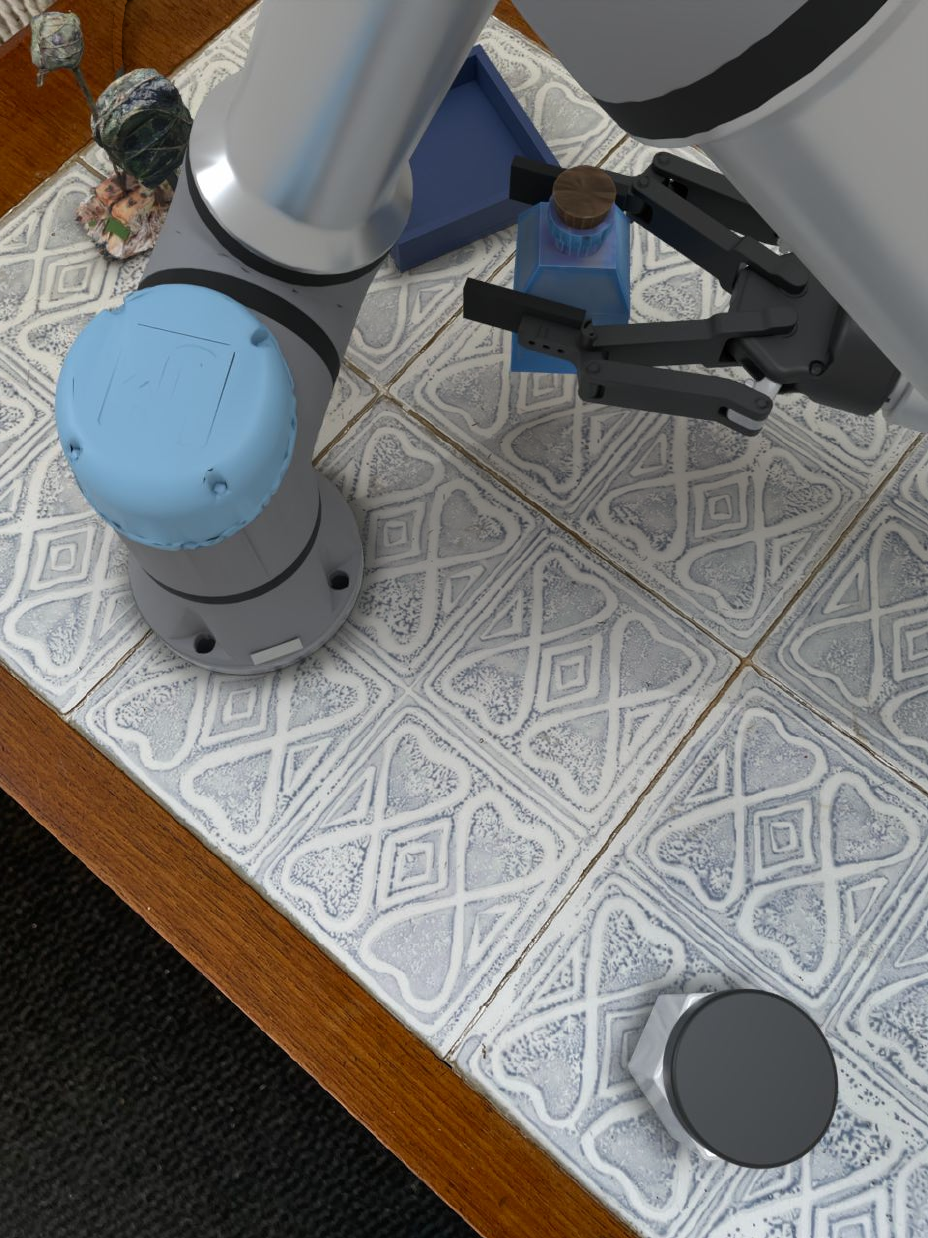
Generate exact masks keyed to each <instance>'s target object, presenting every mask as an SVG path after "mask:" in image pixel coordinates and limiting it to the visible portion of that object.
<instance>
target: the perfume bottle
mask: <svg viewBox="0 0 928 1238" xmlns="http://www.w3.org/2000/svg"><path fill="white" fill-rule="evenodd" d="M590 166H591V165H590ZM590 166H578V165H577V166H572V167H570V168H566V169H567V170H565V171H564V172H563V173H561V174H560V175H559V176H558V178H557V179H556V181H555V182H554V186H553V194H552V196H551V197H550V200H549V202H540V203H538V204H537V205H535V206H533V207H531V208H530V209H528V210H526V211H524V212H523V213H521V214H519V215H518V223H517V227H516V228H517V230H516V243H515V257H514V270H513V271H514V272H513V285H512V286H513V288H512V290H516V291H520V292H523V293H527V294H530V295H534V296H537V297H541V298H544V299H548V300H552V301H555V302H559V303H562V304H566V305H569V306H573V307H576V308H580V309H584V310H586V314H585V320H586V319H589V318H592V324H593V326H600V325H617V324H629V322H630V317H631V223H630V219H629V218H628V217H627V216H626V213H625V212H624V213H623V212H622V211H621V210H620V209H619V208H618V207H617V206H616V205H615V197H616V188H615V184H614V183H613V181H612V179H611V178H610V177H609V176H608V175H607V174H606V173H605V172H604V171H602V170H599V169H597V168H598V167H597V168H595V167H596V166H594V167H590ZM585 320H584V321H585ZM517 340H518V334H517V333H514V332H511V341H510V342H511V343H510V372H511V373H534V374H535V373H536V374H558V375H577V369H576V367H575V366H574V365H573V364H572V363H571V362H569V361H567V360H563V359H560V358H556V357H553V356H549V355H546V354H543V353H539V352H536V351H532V350H528V349H525V348H524V347H522V346H521V345H519V344H518V343H517Z"/></svg>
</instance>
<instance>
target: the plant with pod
mask: <svg viewBox="0 0 928 1238" xmlns="http://www.w3.org/2000/svg"><path fill="white" fill-rule="evenodd" d="M29 22H30V23H29V24H30V29H31V41H30V46H29V50H30V56H31V62H32V64H33V65H34V66H35V67H36V68H37V69H38V72H37V73H36V76H37V80H36V86H37V88H41V87H42V86H43V85H44V83H45V80H46V79H45V78H46V76H47V75H48V74H50V73H53V72H54V71H57V70H60V69H65V70H71V71H72V74H73V75H74V77H75V79H76V82H77V83H78V86H79V87H80V88H81V91H82V92H83V95H84V96H85V99H86V101H87V103H88V107H89V110H90V111H91V115H90V129H91V131H92V134H91V135H90V137H91V138H92V140H93V141H94V142H95V143H96V144H97V145H98V147H100V148H101V149H103V150H104V151H105V153H106V155H107V156H108V160H109V161H110V162H111V163H112V167H113V171H114V172H113V171H110V174H109V175H108V177H106V179H104V181H99V184H98V185H97V186H93V187H90V188H89V193H88V196H84V197H82V198H83V201H84V202H83V201H80V203H79V206H77V207H75V209H74V210H75V215H74V218H75V219H74V221H76V222H78V223H76V225H75V227H76V226H79V225H82V224H84V226H83V230H82V232H85V231H87V230H88V232H87V234H86V235H87V236H89V237H90V238H91V240H90V241H89V242H90V243H92V244H94V245H95V247H97V248H98V249H97V250H98V251H99V252H98V254H99V255H101V256H102V259H101V260H102V261H105V262H106V261H107V262H113V263H114V262H119V261H121V260H123V259H126V258H129V257H130V256H131V257H132V256H135V255H137V254H140V253H141V252H143V251H147V250H149V249H150V248H152V249H153V248H154V245H155V243H156V241H157V238H158V236H159V234H160V231H161V229H162V226H163V224H164V222H165V219H166V216H167V214H168V211H169V208H170V205H171V202H172V199H173V196H174V191H173V190H172V188H171V186H170V184H169V183H168V181H167V178H168V177H169V176H170V175H171V174H172V172H173V171H174V172H175V171H176V170H177V169H179V168H181V167H182V163H183V159H184V155H185V152H186V148H187V144H188V140H189V136H190V132H191V129H192V126H193V122H194V119H195V118H193V117H192V114H191V111H190V110H189V108H188V107H187V106H186V104H185V102H184V101H183V98H182V94H180V90H179V89H178V88H177V87H176V86H175V84H176V82H175V81H176V79H173V80H172V81H171V80H170V79H169V78H167V77H166V76H164V75H162V74H161V73H159V72H158V71H157V70H156V69H155V68H150V67H148V68H143V67H142V68H135V69H134V70H132V71H129V72H127V73H125V75H123V76H122V77H120V78H118V79H117V80H116V79H115V80H113V81H112V82H111V83H110V84H109V85H107V87H106V88H105V89H104V90H103V91H102V92H101V94H99V96H98V98H97V101H96V102H95V100H94V98H93V95H92V92H91V91H90V89H89V88H88V85H87V83H86V81H85V77H84V74H83V71H82V69H81V68H80V66H79V65H80V64H81V63H82V60H83V56H84V52H85V49H86V48H85V42H84V41H83V40H84V39H83V38H84V37H83V32H82V24H81V20H80V18H79V17H78V15H77V14H76V13H74V12H70V13H65V12H60V11H46V12H41V13H39V14H38V15H36V14H35V15H33V16H32V17H31V18H30V21H29ZM118 168H119V169H118Z"/></svg>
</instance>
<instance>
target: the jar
mask: <svg viewBox="0 0 928 1238" xmlns="http://www.w3.org/2000/svg"><path fill="white" fill-rule="evenodd" d="M627 1070H628V1071H629V1073H630V1075H631V1076H632V1078H633V1080H634V1081H635V1082H636V1084H637V1085H638V1087H639V1089H640V1090H641V1091H642V1093H643V1095H644V1096H645V1098H646V1100H647V1101H648V1103H649V1104H650V1106H651V1107H652V1109H653V1111H654V1112H655V1114H656V1116H657V1117H658V1118H659V1120H660V1122H661V1123H662V1125H663V1126H664V1128H665V1129H666V1131H667V1132H668V1135H670V1137H671V1138H672V1140H675V1141H676V1142H677V1143H679V1144H681V1145H682V1146H684V1147H685V1148H687V1149H688V1150H689V1151H691V1152H693V1153H694V1154H696V1155H697V1156H699V1157H700V1158H702V1159H704V1160H705V1161H707V1162H721V1161H725V1162H727V1163H729V1164H732V1165H735V1166H738V1167H740V1168H741V1167H742V1168H744V1169H745V1168H746V1169H753V1170H770V1169H776V1168H780V1167H781V1168H782V1167H784V1166H787V1165H790V1164H793V1163H794V1162H796V1161H798V1160H800V1159H802V1158H803V1157H804V1156H806V1155H807V1154H809V1153H810V1152H811V1151H812V1150H814V1148H816V1146H817V1145H818V1144H819V1143H820V1142H821V1141H822V1139H823V1138H824V1136H825V1135H826V1133H827V1131H828V1130H829V1128H830V1126H831V1124H832V1122H833V1119H834V1117H835V1112H836V1110H837V1104H838V1099H839V1073H838V1067H837V1063H836V1060H835V1056H834V1052H833V1051H832V1048H831V1046H830V1044H829V1041H828V1039H827V1037H826V1035H825V1034H824V1032H823V1031H822V1029H821V1028H820V1026H819V1025H818V1024H817V1022H815V1021H814V1019H813V1018H812V1016H810V1015H809V1013H807V1012H806V1011H805V1010H803V1008H801V1007H800V1006H799V1005H797V1004H796V1003H794V1002H793V1001H791V1000H789V999H788V998H786V997H785V996H782V995H781V994H780V993H779V992H778V991H777V990H775V989H758V988H730V989H723V990H718V991H716V990H715V991H697V992H695V991H694V992H679V993H678V992H677V993H660V994H659V995H658V996H657V998H656V1000H655V1003H654V1005H653V1007H652V1010H651V1012H650V1014H649V1016H648V1019H647V1021H646V1023H645V1026H644V1028H643V1030H642V1032H641V1035H640V1036H639V1039H638V1042H637V1044H636V1046H635V1048H634V1051H633V1053H632V1055H631V1058H630V1060H629V1062H628V1065H627Z"/></svg>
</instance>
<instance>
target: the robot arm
mask: <svg viewBox="0 0 928 1238" xmlns="http://www.w3.org/2000/svg"><path fill="white" fill-rule="evenodd" d="M499 2H500V0H262V3H261V5H260V8H259V12H258V15H257V19H256V23H255V26H254V29H253V32H252V36H251V40H250V43H249V46H248V49H247V53H246V57H245V60H244V64H243V66H242V69H241V70H239V71H236V72H234V73H232V74H230V75H229V76H227V77H225V78H224V79H223V80H221V81H220V82H218V83H217V84H216V85H215V86H214V87H213V88H212V89H211V90H210V91H208V93H207V95H206V96H205V97H204V98H203V99H202V101H201V104H200V105H199V107H198V109H197V111H196V113H195V116H194V118H193V119H194V122H193V126H192V129H191V132H190V136H189V140H188V144H187V148H186V152H185V155H184V159H183V163H182V165H181V166H180V171H179V175H177V174H176V172H175V170H174V171H173V172H172V174H171V175H170V176H169V177H168V178H167V181H168V183H169V184H170V186H171V188H172V190H173V191H174V196H173V199H172V202H171V205H170V208H169V211H168V214H167V216H166V219H165V222H164V224H163V226H162V229H161V231H160V234H159V236H158V238H157V241H156V243H155V244H154V245H153V247H152V250H151V254H150V256H149V258H148V261H147V263H146V266H145V268H144V271H143V273H142V275H141V278H140V280H139V283H138V286H137V288H136V290H135V291H132V292H130V293H129V294H127V295H124V297H123V298H122V301H123V303H122V304H121V305H119V306H118V307H117V308H114V309H113V310H109V309H108V308H103V309H102V310H101V311H99V313H97V314H95V316H93V317H92V318H91V319H90V321H89V322H88V323H87V324H85V326H84V327H83V328H82V329H81V331H80V332H79V334H77V336H76V337H75V339H74V341H73V343H72V344H71V346H70V347H69V349H68V351H67V353H66V355H65V357H64V360H63V362H62V365H61V367H60V371H59V375H58V378H57V382H56V387H55V395H54V418H55V427H56V433H57V436H58V437H57V438H58V439H59V445H60V446H61V449H62V452H63V454H64V456H65V458H66V460H67V463H68V465H69V468H70V470H71V472H72V475H73V476H74V478H75V481H76V484H77V487H78V488H79V490H80V491H81V493H82V495H83V496H84V498H85V499H86V501H87V503H88V504H89V505H90V507H91V508H92V509H93V510H94V512H95V513H96V514H97V515H98V516H99V517H100V518H101V519H102V520H103V521H104V522H105V523H106V524H108V525H109V526H110V527H111V528H112V529H113V531H114V532H115V533H116V535H117V536H118V538H119V539H120V540H121V542H122V543H123V545H124V546H125V547H126V548H127V550H128V554H127V555H128V557H127V571H128V581H129V586H130V591H131V594H132V598H133V600H134V602H135V605H136V608H137V609H138V611H139V614H140V616H141V617H142V619H143V620H144V622H145V623H146V624H147V626H148V627H149V628H150V629H151V631H152V632H153V633H154V635H155V636H157V638H158V639H159V641H160V642H162V643H163V644H164V646H166V647H167V648H168V650H171V652H173V653H174V654H176V655H177V656H178V657H180V658H182V659H183V660H185V661H186V662H189V663H191V664H193V665H195V666H196V667H200V668H202V669H205V670H209V671H211V672H215V673H220V674H225V675H226V674H227V675H239V676H240V675H241V676H242V675H243V676H244V675H245V676H246V675H258V674H265V673H270V672H274V671H278V670H281V669H285V668H287V667H289V666H292V665H294V664H296V663H299V662H300V661H302V660H304V659H306V658H308V657H309V656H311V655H312V654H314V653H315V652H317V651H318V650H319V649H321V648H322V647H323V646H325V644H327V643H328V642H329V641H330V640H331V639H332V638H333V637H334V636H335V635H336V633H338V631H340V629H341V627H342V626H343V625H344V623H345V622H346V620H347V619H348V618H349V616H350V614H351V612H352V611H353V608H354V607H355V604H356V602H357V599H358V596H359V593H360V591H361V588H362V587H361V586H362V582H363V576H364V563H365V561H364V560H365V558H364V549H363V544H362V543H363V541H362V538H361V533H360V529H359V525H358V522H357V518H356V515H355V514H354V511H353V509H352V507H351V506H350V504H349V502H348V501H347V499H346V497H345V496H344V494H343V493H342V492H341V491H340V489H339V488H338V487H337V486H336V485H335V484H334V483H333V482H332V481H331V480H330V479H329V478H328V477H326V476H325V475H324V474H323V473H322V472H321V471H319V470H318V469H316V468H315V467H314V466H313V457H314V452H315V447H316V445H317V441H318V438H319V435H320V432H321V429H322V426H323V422H324V419H325V416H326V413H327V411H328V407H329V404H330V401H331V398H332V395H333V392H334V388H335V385H336V383H337V381H338V380H337V379H338V377H339V375H340V370H341V368H342V365H343V361H344V358H345V355H346V352H347V350H348V346H349V343H350V340H351V337H352V335H353V331H354V329H355V325H356V323H357V319H358V317H359V313H360V311H361V308H362V305H363V303H364V302H365V301H364V300H365V298H366V296H367V294H368V291H369V289H370V287H371V285H372V283H373V281H374V279H375V277H376V276H377V274H378V273H379V271H380V269H381V267H382V266H383V265H384V263H385V261H386V259H387V258H388V256H389V255H390V251H391V250H392V248H393V247H394V245H395V243H396V242H397V240H398V238H399V237H400V235H401V233H402V232H403V230H404V228H405V226H406V224H407V222H408V218H409V214H410V210H411V204H412V198H413V182H412V174H411V169H410V165H409V159H410V157H411V155H412V154H413V152H414V150H415V148H416V147H417V145H418V143H419V141H420V140H421V138H422V136H423V134H424V132H425V131H426V129H427V127H428V125H429V124H430V122H431V120H432V118H433V117H434V115H435V113H436V111H437V110H438V108H439V106H440V104H441V102H442V101H443V99H444V97H445V95H446V94H447V92H448V90H449V88H450V87H451V85H452V83H453V81H454V80H455V78H456V76H457V74H458V72H459V71H460V69H461V67H462V65H463V64H464V62H465V60H466V58H467V57H468V55H469V53H470V51H471V50H472V48H473V46H475V44H476V43H477V41H478V39H479V37H480V35H481V34H482V32H483V30H484V28H485V26H486V25H487V23H488V21H489V20H490V18H491V16H492V15H493V13H494V10H495V9H496V7H497V5H498V4H499ZM510 2H511V3H512V5H513V7H515V9H516V10H517V12H518V13H519V14H520V15H521V17H522V18H523V19H524V21H525V22H526V24H527V25H528V26H529V27H530V28H531V29H532V30H533V32H534V33H535V34H536V35H537V37H538V38H539V39H540V40H541V41H542V42H543V44H544V45H545V46H546V47H547V49H549V51H550V52H551V53H552V54H553V55H554V57H555V58H556V59H557V60H558V62H559V63H560V64H561V65H562V66H563V68H564V69H565V70H566V71H567V73H568V74H569V75H571V77H572V78H573V80H574V81H576V83H577V84H578V85H579V86H580V88H581V89H582V90H583V91H584V92H586V93H587V94H588V96H590V97H591V98H592V99H593V100H594V101H595V103H597V104H598V105H599V106H600V108H601V109H602V110H603V111H604V112H605V113H606V114H607V115H608V117H610V118H611V119H612V120H613V122H614V123H615V124H616V125H617V126H618V127H619V128H620V129H621V130H622V131H624V132H625V134H627V135H628V137H630V139H633V140H635V141H636V142H638V143H640V144H642V145H644V146H648V147H652V148H658V149H682V148H688V147H693V146H698V148H699V149H700V150H701V151H702V152H703V154H704V155H705V156H707V158H708V159H709V160H710V161H711V162H712V163H713V165H715V166H716V168H717V169H718V170H719V171H720V172H718V171H715V170H713V169H711V168H708V167H705V166H703V165H700V164H698V163H696V162H693V161H691V160H688V159H686V158H683V157H681V156H679V155H675V154H673V153H671V152H668V151H664V150H662V151H658V152H656V153H655V154H654V155H653V156H652V161H651V163H650V164H649V165H648V166H647V167H646V169H645V170H643V172H641V173H639V174H636V175H627V174H623V173H618V172H615V171H612V170H608V169H604V168H601V167H597V166H593V165H590V164H578V165H577V166H590V167H595V168H597V169H599V170H602V171H604V172H605V173H606V174H607V175H608V176H609V177H610V178H611V179H612V181H613V183H614V184H615V188H616V197H615V205H616V206H617V207H618V208H619V209H620V210H621V211H622V212H623V213H624V214H625V215H626V216H627V217H628V218H629V219H630V225H632V224H633V223H636V224H637V225H638V226H640V227H642V228H643V229H644V230H646V231H647V232H649V233H651V234H652V235H653V236H655V237H656V238H657V239H659V240H661V241H662V242H663V243H665V244H666V245H668V246H669V247H670V248H672V249H673V250H675V251H676V252H677V253H679V254H681V255H682V256H684V257H685V258H686V259H688V260H690V261H691V262H692V263H694V264H695V265H696V266H698V267H700V269H703V270H704V271H705V272H707V273H708V274H710V275H711V276H712V277H714V278H715V279H716V280H717V281H718V283H719V286H720V287H721V288H722V290H723V291H725V292H726V293H727V294H729V295H730V299H729V303H728V305H729V306H728V310H727V311H726V312H725V311H723V312H717V313H714V314H712V315H711V316H709V317H708V318H701V319H699V318H698V319H686V320H685V319H684V320H669V321H653V322H652V321H651V322H636V323H635V322H633V323H628V324H617V325H600V326H593V324H592V318H589V319H586V320H585V314H586V310H584V309H580V308H576V307H573V306H569V305H566V304H562V303H559V302H555V301H552V300H548V299H544V298H541V297H537V296H534V295H530V294H527V293H523V292H520V291H516V290H513V288H508V287H505V286H501V285H498V284H495V283H491V282H487V281H484V280H480V279H477V278H473V277H470V276H467V277H466V279H465V282H464V285H463V287H462V319H464V320H467V321H468V320H469V321H472V322H475V323H479V324H482V325H486V326H490V327H493V328H496V329H499V330H503V331H506V332H507V331H508V332H511V333H512V332H514V333H517V334H518V340H517V343H518V344H519V345H521V346H522V347H524V348H525V349H528V350H532V351H536V352H539V353H543V354H546V355H549V356H553V357H556V358H560V359H563V360H567V361H569V362H571V363H572V364H573V365H574V366H575V367H576V369H577V374H576V375H577V386H578V387H577V396H578V398H579V399H580V400H581V401H582V402H585V403H589V404H595V405H603V406H609V407H617V408H622V409H629V410H635V411H641V412H648V413H654V414H655V413H656V414H663V415H669V416H676V417H682V418H689V419H695V420H702V421H709V422H716V423H718V424H720V425H721V426H724V427H726V428H729V429H730V430H732V431H734V432H737V433H739V434H741V435H742V436H745V437H748V438H753V437H756V436H758V435H759V434H760V433H761V431H762V429H763V427H764V425H765V423H766V422H767V420H768V418H769V416H770V414H771V412H772V410H773V408H774V401H775V399H776V398H777V396H779V395H780V396H782V395H786V394H801V395H804V396H806V397H807V398H808V399H809V400H810V401H811V402H812V403H814V404H818V405H822V406H825V407H829V408H832V409H835V410H839V411H843V412H846V413H850V414H852V415H856V416H861V417H864V418H867V417H869V416H871V415H874V414H876V413H877V412H879V410H881V414H882V417H883V419H884V421H885V423H888V424H890V425H894V426H898V427H901V428H904V429H908V430H911V431H915V432H918V433H922V434H926V435H928V0H510ZM122 66H123V65H122ZM120 68H121V69H122V70H121V69H120V70H119V71H117V73H118V74H117V73H116V74H115V73H114V78H115V80H117V79H118V78H120V77H122V76H123V75H125V74H126V71H125V65H124V66H123V68H122V67H120ZM116 75H117V76H116ZM567 169H568V168H567V167H566V168H565V167H562V166H561V167H558V166H554V165H551V164H547V163H543V162H540V161H536V160H532V159H528V158H525V157H521V156H517V155H515V156H514V159H513V161H512V164H511V172H510V189H509V199H511V200H515V201H518V202H522V203H526V204H529V205H533V206H535V205H537V204H538V203H540V202H549V200H550V197H551V196H552V194H553V186H554V182H555V181H556V179H557V178H558V176H559V175H560V174H561V173H563V172H564V171H565V170H567ZM738 234H739V235H738ZM740 235H741V236H740ZM764 244H765V245H764ZM767 245H768V246H774V247H778V252H779V253H780V255H779V254H778V253H777V252H774V251H773V250H772V249H770V248H769V247H767ZM584 320H585V321H584ZM688 365H702V366H703V368H705V369H717V368H733V367H735V368H736V367H742V369H743V370H745V371H746V372H747V374H748V375H749V376H750V377H751V378H745V380H741V381H738V380H734V379H730V378H727V377H724V376H723V377H722V376H716V375H710V374H705V373H704V374H703V373H697V372H690V371H689V372H688V371H684V370H683V371H682V370H677V369H669V368H662V367H673V366H688Z"/></svg>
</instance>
